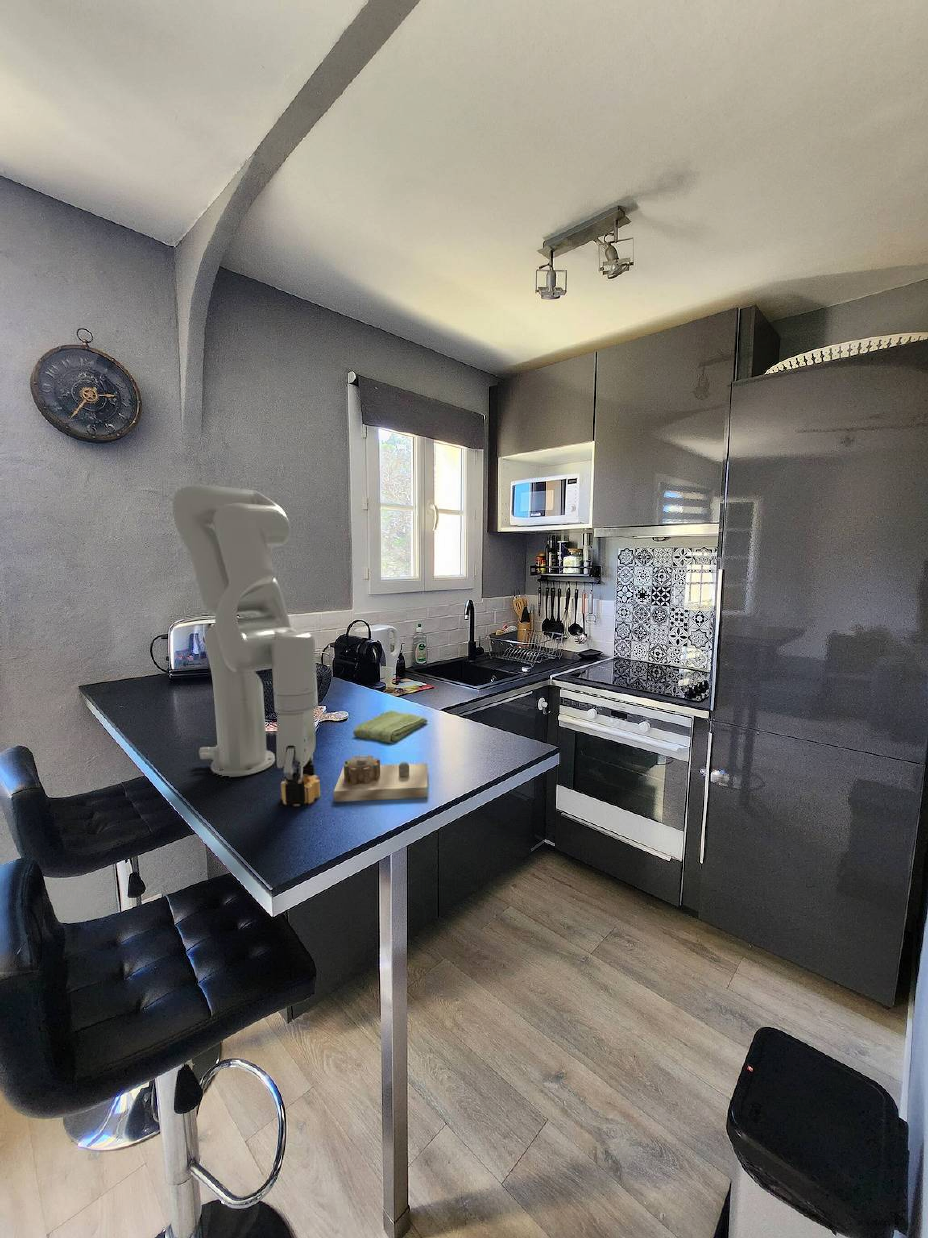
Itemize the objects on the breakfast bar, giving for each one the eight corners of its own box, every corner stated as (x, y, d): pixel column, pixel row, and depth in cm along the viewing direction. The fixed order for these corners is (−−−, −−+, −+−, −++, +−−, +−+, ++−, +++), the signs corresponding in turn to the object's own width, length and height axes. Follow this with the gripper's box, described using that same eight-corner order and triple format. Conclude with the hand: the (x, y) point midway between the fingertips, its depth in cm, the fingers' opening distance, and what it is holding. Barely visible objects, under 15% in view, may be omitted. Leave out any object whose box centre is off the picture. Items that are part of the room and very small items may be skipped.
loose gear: (277, 807, 90) (276, 791, 90) (287, 789, 97) (286, 774, 96) (315, 805, 90) (314, 789, 90) (323, 788, 97) (322, 773, 97)
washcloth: (430, 724, 135) (429, 712, 135) (393, 746, 119) (392, 733, 119) (389, 718, 141) (388, 706, 140) (349, 738, 125) (348, 726, 125)
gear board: (334, 801, 92) (332, 773, 91) (344, 776, 102) (342, 750, 102) (427, 797, 93) (427, 769, 92) (427, 772, 104) (427, 746, 103)
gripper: (288, 688, 100) (292, 775, 102) (259, 716, 82) (265, 819, 85) (326, 687, 100) (330, 773, 102) (305, 714, 83) (311, 816, 85)
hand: (301, 793), depth 93 cm, fingers closed on loose gear, 6 cm apart
